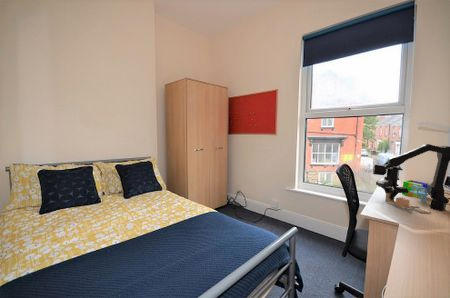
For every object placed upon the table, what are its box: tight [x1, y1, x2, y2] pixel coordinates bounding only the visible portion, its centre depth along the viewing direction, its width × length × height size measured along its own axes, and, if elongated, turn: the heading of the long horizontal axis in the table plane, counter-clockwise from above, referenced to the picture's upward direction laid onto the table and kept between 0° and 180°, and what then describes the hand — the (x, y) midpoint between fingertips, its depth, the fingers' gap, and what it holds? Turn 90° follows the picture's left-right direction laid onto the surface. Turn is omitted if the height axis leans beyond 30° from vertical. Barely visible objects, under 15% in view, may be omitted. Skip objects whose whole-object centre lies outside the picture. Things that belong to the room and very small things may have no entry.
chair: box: [410, 185, 429, 203], centre depth 137 cm, size 8×8×12 cm
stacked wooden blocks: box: [385, 193, 411, 210], centre depth 130 cm, size 5×13×6 cm, turn 4°
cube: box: [395, 197, 411, 207], centre depth 126 cm, size 4×4×4 cm
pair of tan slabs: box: [409, 203, 431, 214], centre depth 124 cm, size 5×11×1 cm, turn 4°
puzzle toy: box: [401, 179, 428, 200], centre depth 151 cm, size 10×10×10 cm
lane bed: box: [391, 203, 432, 214], centre depth 128 cm, size 13×20×2 cm, turn 4°
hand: (389, 199), depth 135 cm, fingers closed on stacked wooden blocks, 2 cm apart
